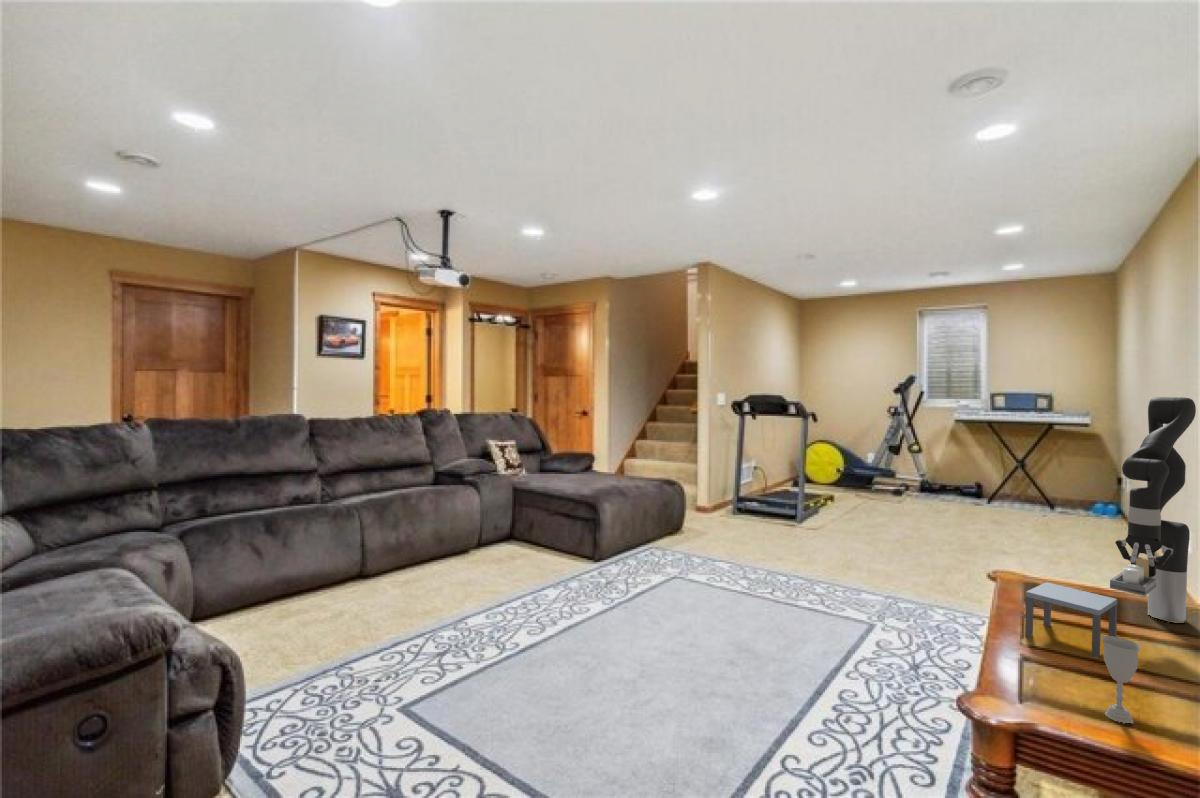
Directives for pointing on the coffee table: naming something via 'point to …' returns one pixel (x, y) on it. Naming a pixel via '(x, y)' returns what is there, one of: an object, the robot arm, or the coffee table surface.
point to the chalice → (1120, 671)
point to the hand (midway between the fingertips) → (1143, 575)
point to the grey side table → (1075, 601)
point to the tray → (1133, 587)
